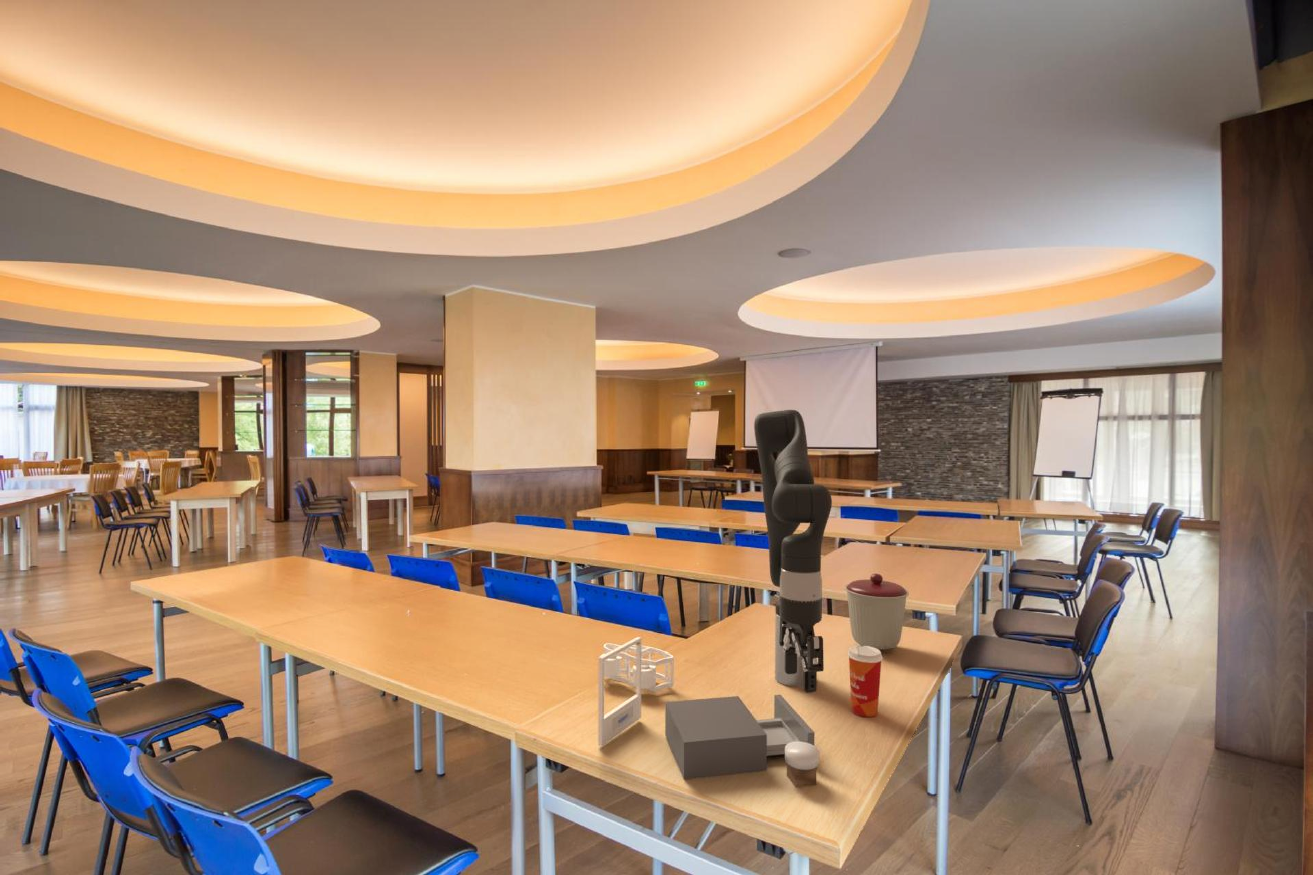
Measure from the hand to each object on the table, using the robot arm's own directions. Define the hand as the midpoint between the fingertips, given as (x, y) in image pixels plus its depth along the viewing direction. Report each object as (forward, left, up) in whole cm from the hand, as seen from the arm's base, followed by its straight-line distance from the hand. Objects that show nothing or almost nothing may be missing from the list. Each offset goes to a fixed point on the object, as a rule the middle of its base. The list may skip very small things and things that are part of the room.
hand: (799, 682), depth 114 cm
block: (0, 0, -18) cm, 18 cm away
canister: (-52, -64, -19) cm, 85 cm away
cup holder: (+23, -51, -19) cm, 58 cm away
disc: (0, 0, -14) cm, 14 cm away
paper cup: (-26, -24, -19) cm, 40 cm away
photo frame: (+30, -25, -19) cm, 43 cm away
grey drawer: (+5, -13, -18) cm, 23 cm away
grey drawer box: (+13, -13, -18) cm, 26 cm away
